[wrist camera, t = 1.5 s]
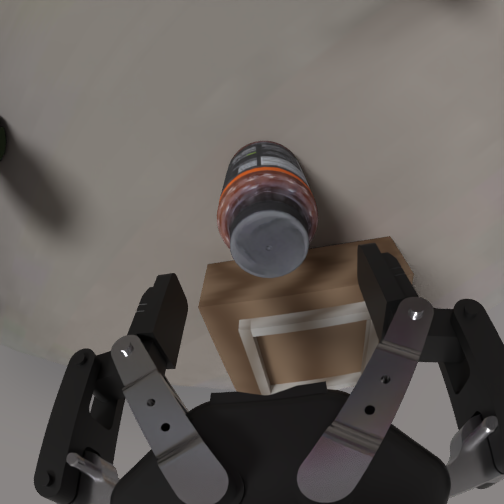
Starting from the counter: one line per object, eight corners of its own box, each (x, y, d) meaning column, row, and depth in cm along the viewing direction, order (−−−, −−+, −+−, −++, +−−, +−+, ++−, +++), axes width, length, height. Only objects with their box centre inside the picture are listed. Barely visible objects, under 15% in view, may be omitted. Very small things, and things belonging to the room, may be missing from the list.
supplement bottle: (271, 218, 27) (277, 310, 17) (214, 181, 25) (186, 259, 16) (315, 166, 24) (352, 238, 15) (256, 124, 22) (254, 167, 13)
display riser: (390, 236, 27) (419, 283, 21) (378, 340, 36) (392, 386, 30) (207, 264, 30) (196, 317, 24) (242, 361, 38) (240, 408, 32)
